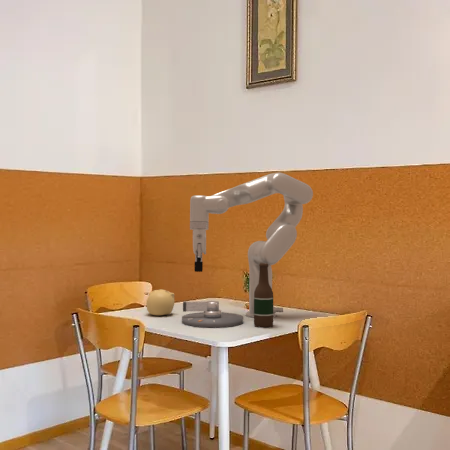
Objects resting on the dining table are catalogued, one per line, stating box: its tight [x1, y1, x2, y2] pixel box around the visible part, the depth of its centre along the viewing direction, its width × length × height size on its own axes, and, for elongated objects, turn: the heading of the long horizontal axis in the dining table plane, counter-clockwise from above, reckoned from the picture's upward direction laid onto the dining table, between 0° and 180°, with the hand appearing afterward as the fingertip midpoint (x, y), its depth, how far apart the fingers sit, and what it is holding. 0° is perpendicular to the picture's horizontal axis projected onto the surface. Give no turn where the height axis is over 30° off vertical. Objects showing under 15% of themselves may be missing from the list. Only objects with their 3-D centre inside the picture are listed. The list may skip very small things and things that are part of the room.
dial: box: [182, 300, 222, 318], centre depth 243 cm, size 15×7×6 cm, turn 95°
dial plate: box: [181, 311, 244, 329], centre depth 244 cm, size 24×24×2 cm
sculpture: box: [145, 288, 175, 316], centre depth 260 cm, size 12×12×11 cm
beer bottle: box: [253, 263, 274, 328], centre depth 236 cm, size 8×8×24 cm
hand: (198, 271), depth 250 cm, fingers closed
